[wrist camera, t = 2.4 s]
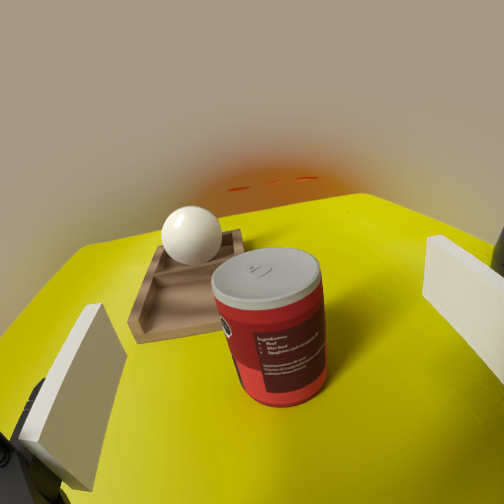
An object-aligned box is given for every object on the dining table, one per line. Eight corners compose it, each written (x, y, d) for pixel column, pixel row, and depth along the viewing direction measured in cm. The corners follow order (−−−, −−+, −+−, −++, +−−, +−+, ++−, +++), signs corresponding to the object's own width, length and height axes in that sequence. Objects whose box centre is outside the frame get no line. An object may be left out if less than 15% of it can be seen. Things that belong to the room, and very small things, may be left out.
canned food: (266, 341, 32) (245, 242, 27) (340, 357, 28) (336, 250, 23) (223, 393, 26) (186, 290, 22) (306, 421, 22) (292, 311, 17)
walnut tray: (163, 262, 55) (157, 246, 53) (243, 245, 55) (240, 228, 54) (137, 343, 35) (127, 322, 33) (258, 322, 35) (253, 298, 34)
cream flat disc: (171, 266, 50) (155, 213, 46) (227, 255, 50) (214, 199, 46) (170, 270, 49) (154, 215, 45) (227, 258, 49) (214, 201, 45)
